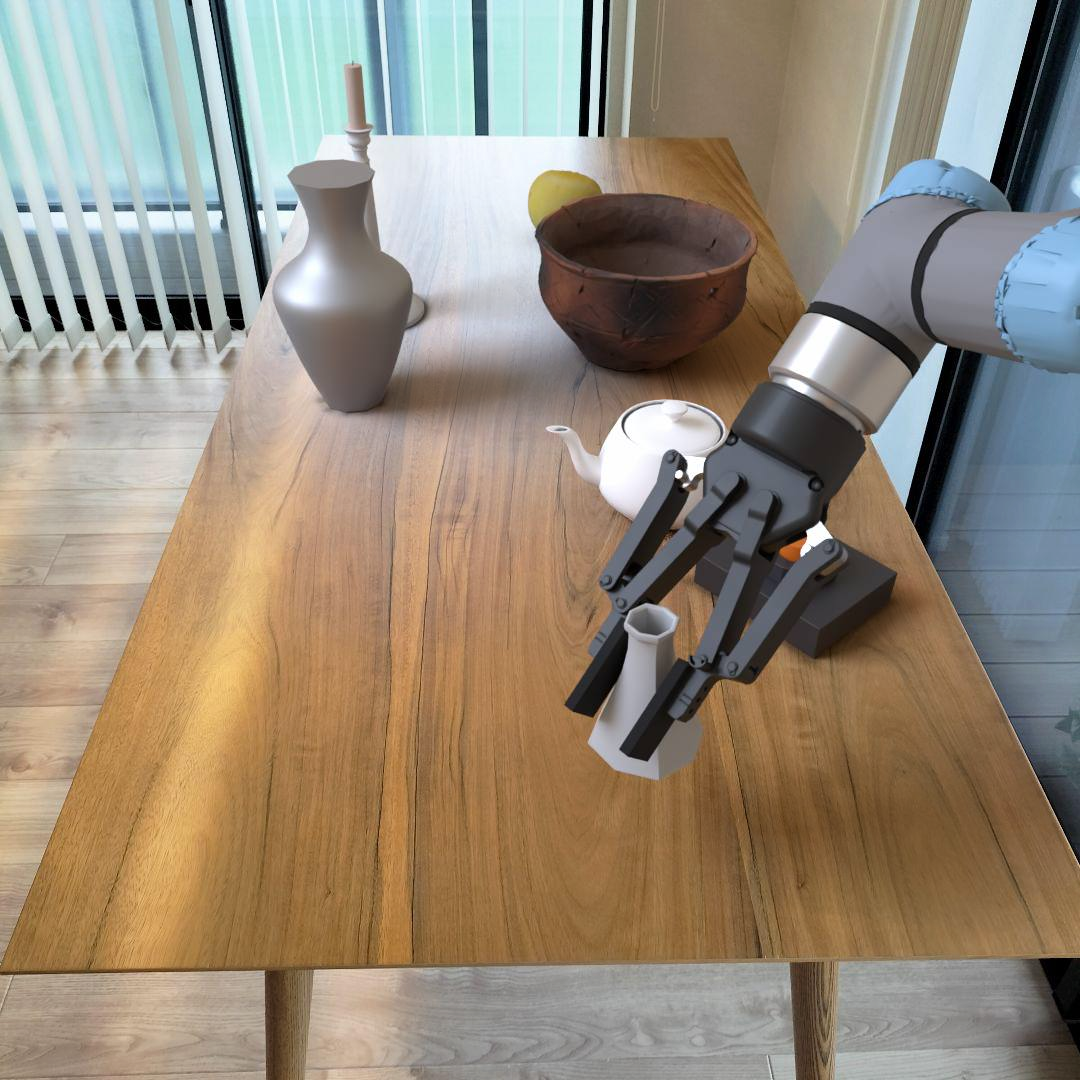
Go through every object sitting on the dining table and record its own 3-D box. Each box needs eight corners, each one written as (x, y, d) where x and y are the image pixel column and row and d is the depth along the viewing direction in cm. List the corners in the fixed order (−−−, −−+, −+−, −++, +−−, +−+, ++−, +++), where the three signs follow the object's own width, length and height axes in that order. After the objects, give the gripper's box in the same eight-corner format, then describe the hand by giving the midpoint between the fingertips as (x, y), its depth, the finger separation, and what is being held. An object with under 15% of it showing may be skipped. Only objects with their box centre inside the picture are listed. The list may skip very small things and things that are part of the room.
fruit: (608, 250, 154) (612, 180, 148) (534, 255, 152) (535, 184, 146) (592, 223, 162) (595, 156, 156) (522, 227, 160) (522, 160, 154)
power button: (832, 551, 92) (836, 535, 91) (804, 571, 90) (807, 554, 88) (794, 530, 94) (798, 514, 93) (766, 548, 92) (768, 532, 91)
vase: (403, 436, 114) (386, 203, 98) (270, 425, 115) (233, 193, 100) (431, 370, 125) (419, 152, 110) (309, 361, 126) (282, 144, 111)
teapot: (753, 460, 111) (768, 367, 104) (784, 542, 100) (803, 443, 94) (540, 464, 110) (542, 370, 103) (548, 546, 99) (551, 447, 92)
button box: (890, 601, 94) (902, 555, 91) (813, 658, 88) (824, 612, 85) (771, 532, 101) (779, 488, 98) (693, 581, 95) (699, 536, 92)
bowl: (713, 421, 117) (731, 291, 108) (502, 379, 124) (502, 253, 114) (758, 325, 136) (777, 207, 127) (573, 293, 142) (577, 179, 133)
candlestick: (335, 287, 142) (309, 44, 124) (431, 293, 142) (419, 48, 123) (311, 331, 132) (278, 73, 114) (414, 337, 132) (398, 78, 113)
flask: (568, 748, 70) (567, 628, 64) (630, 686, 74) (634, 569, 69) (663, 799, 66) (672, 677, 60) (722, 730, 71) (735, 611, 65)
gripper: (956, 491, 63) (736, 823, 64) (729, 380, 73) (543, 669, 74) (927, 446, 57) (684, 814, 58) (684, 331, 67) (482, 648, 68)
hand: (605, 732), depth 66 cm, fingers closed on flask, 4 cm apart
